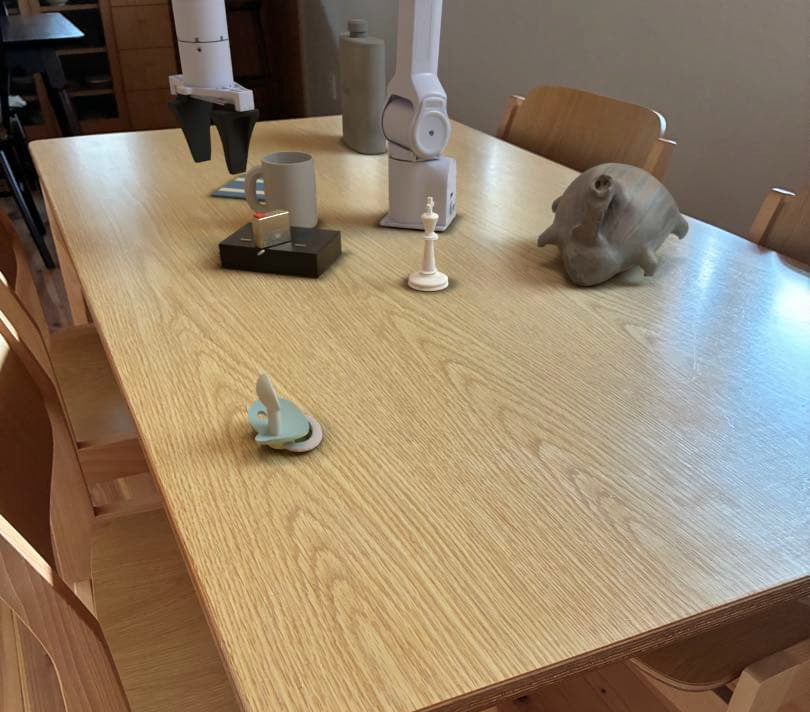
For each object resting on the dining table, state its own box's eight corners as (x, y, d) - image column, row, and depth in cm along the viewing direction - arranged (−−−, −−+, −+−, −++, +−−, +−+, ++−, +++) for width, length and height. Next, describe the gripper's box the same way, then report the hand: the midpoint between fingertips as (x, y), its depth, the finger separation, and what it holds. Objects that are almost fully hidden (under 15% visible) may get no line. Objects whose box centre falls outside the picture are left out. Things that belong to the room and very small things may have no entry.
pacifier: (311, 414, 73) (246, 422, 72) (309, 350, 70) (239, 357, 68) (331, 455, 68) (260, 465, 66) (329, 389, 64) (254, 398, 63)
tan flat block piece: (283, 237, 102) (281, 206, 99) (291, 240, 101) (288, 209, 99) (254, 245, 99) (250, 214, 97) (261, 248, 98) (258, 217, 96)
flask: (336, 137, 157) (330, 15, 144) (364, 135, 158) (361, 14, 146) (359, 156, 146) (355, 25, 133) (389, 153, 147) (388, 24, 135)
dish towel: (293, 180, 133) (293, 178, 133) (265, 201, 124) (264, 198, 124) (243, 176, 135) (243, 174, 135) (211, 196, 126) (211, 194, 126)
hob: (341, 253, 106) (340, 229, 104) (311, 285, 97) (309, 259, 95) (250, 244, 109) (247, 220, 107) (213, 274, 100) (209, 248, 98)
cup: (316, 232, 112) (312, 164, 107) (244, 233, 112) (236, 164, 107) (320, 216, 118) (316, 151, 113) (251, 217, 118) (244, 151, 112)
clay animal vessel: (638, 293, 92) (592, 174, 88) (533, 328, 105) (487, 225, 100) (705, 237, 102) (665, 127, 98) (601, 275, 115) (562, 179, 110)
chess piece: (453, 279, 99) (456, 193, 93) (441, 293, 95) (444, 206, 89) (415, 274, 100) (416, 189, 94) (402, 288, 97) (402, 201, 90)
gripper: (138, 36, 94) (160, 161, 102) (209, 49, 85) (226, 184, 94) (190, 30, 97) (207, 152, 106) (263, 43, 89) (275, 173, 98)
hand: (219, 167), depth 100 cm, fingers open, 7 cm apart
